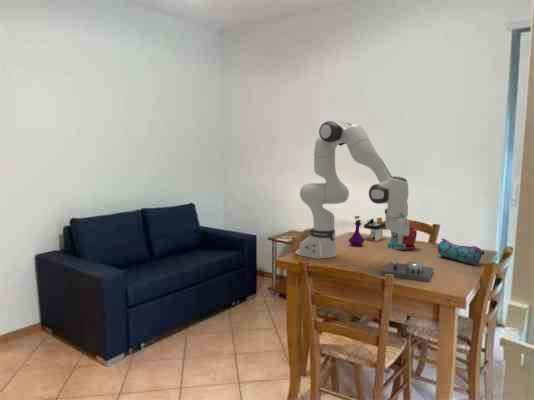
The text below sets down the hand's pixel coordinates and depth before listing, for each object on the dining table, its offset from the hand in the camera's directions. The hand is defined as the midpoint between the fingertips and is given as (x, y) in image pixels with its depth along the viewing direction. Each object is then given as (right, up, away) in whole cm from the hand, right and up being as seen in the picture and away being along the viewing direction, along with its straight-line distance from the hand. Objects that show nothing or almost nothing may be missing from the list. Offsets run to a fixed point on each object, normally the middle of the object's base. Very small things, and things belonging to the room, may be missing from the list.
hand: (396, 242), depth 182 cm
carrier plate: (+5, -14, -1) cm, 15 cm away
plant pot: (+19, -9, +46) cm, 51 cm away
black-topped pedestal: (+8, -6, +70) cm, 70 cm away
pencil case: (+39, -12, +20) cm, 45 cm away
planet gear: (0, -3, 0) cm, 3 cm away
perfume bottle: (-6, -8, +54) cm, 55 cm away
